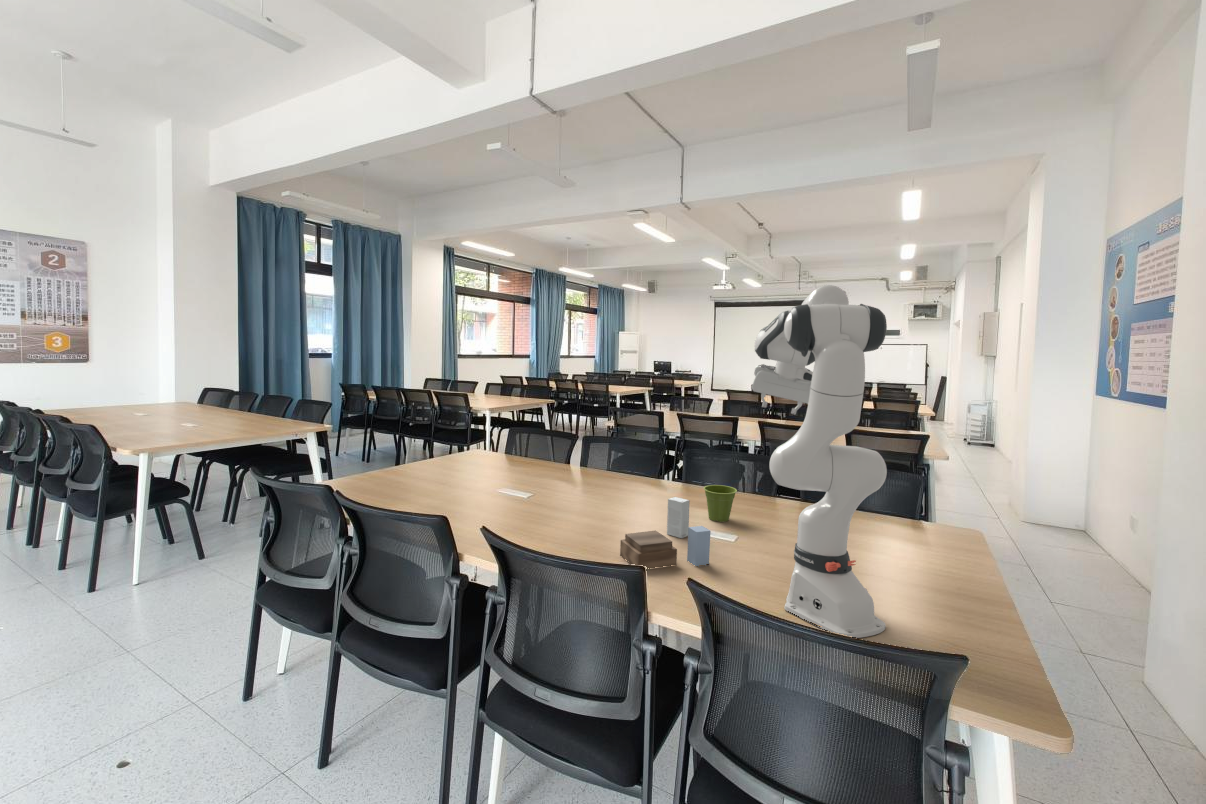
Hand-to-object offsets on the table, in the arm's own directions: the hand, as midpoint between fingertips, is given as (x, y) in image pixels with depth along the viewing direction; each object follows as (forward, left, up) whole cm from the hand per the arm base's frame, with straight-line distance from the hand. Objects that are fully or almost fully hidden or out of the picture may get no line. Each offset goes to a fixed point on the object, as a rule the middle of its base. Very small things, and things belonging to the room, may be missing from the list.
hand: (778, 410), depth 179 cm
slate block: (-15, +37, -42) cm, 58 cm away
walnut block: (-9, +50, -42) cm, 66 cm away
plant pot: (+19, +8, -42) cm, 47 cm away
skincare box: (+8, +31, -42) cm, 53 cm away
